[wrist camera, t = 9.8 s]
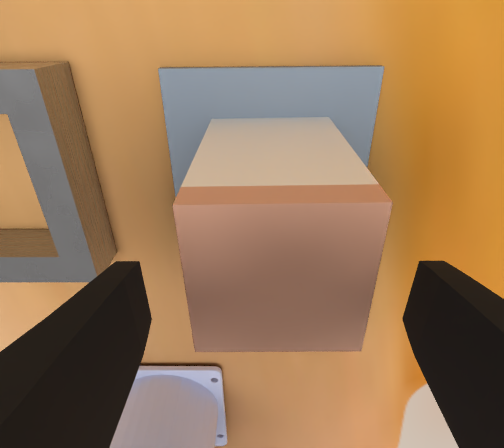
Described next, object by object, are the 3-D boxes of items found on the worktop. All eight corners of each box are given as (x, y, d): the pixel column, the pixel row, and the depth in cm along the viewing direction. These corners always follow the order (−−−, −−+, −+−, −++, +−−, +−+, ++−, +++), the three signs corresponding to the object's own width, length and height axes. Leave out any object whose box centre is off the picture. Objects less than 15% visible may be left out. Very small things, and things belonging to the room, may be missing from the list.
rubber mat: (351, 248, 19) (352, 252, 18) (184, 248, 19) (183, 252, 18) (381, 65, 14) (384, 66, 14) (160, 67, 14) (158, 68, 14)
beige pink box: (319, 218, 17) (361, 351, 10) (219, 220, 17) (195, 351, 10) (328, 116, 15) (392, 202, 8) (211, 118, 15) (172, 205, 8)
